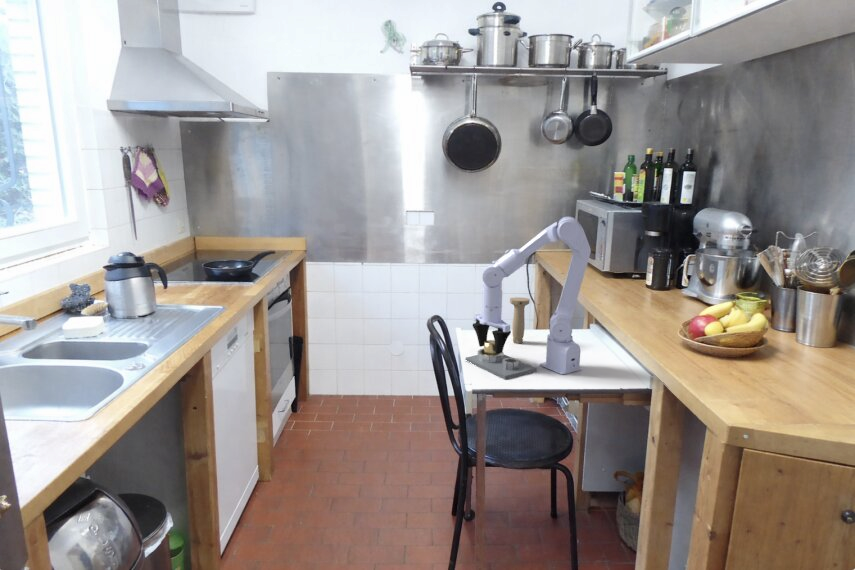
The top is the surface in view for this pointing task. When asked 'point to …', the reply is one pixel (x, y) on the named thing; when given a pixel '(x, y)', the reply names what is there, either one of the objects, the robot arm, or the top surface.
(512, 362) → the narrow collar
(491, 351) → the brass peg
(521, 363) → the board
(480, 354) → the wide collar
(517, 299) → the handle
